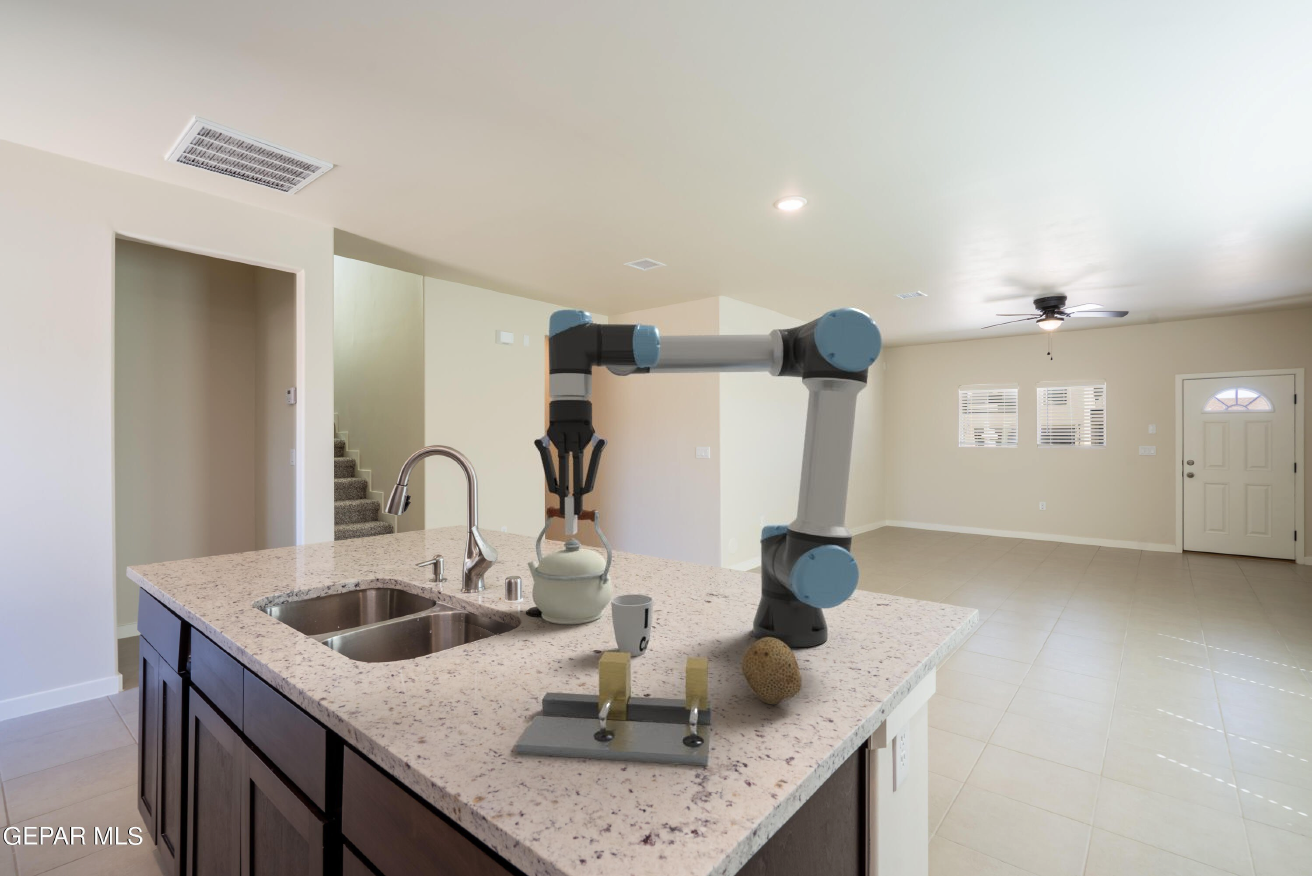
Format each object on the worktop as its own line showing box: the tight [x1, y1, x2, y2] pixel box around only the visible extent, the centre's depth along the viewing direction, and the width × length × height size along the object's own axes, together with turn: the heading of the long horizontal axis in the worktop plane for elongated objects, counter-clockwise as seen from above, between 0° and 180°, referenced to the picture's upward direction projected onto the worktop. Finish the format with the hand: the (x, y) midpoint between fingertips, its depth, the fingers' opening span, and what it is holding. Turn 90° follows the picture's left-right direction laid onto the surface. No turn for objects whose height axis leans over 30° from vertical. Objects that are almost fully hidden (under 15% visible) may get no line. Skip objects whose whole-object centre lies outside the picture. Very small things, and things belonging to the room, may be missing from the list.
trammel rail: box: [541, 656, 712, 740], centre depth 86 cm, size 25×11×8 cm, turn 83°
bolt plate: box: [515, 715, 711, 767], centre depth 81 cm, size 25×8×1 cm, turn 83°
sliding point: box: [598, 651, 632, 734], centre depth 86 cm, size 4×11×8 cm, turn 173°
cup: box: [610, 593, 654, 657], centre depth 116 cm, size 8×8×10 cm
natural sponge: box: [741, 637, 802, 705], centre depth 94 cm, size 9×9×10 cm
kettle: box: [527, 505, 613, 625], centre depth 140 cm, size 25×18×25 cm
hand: (571, 533), depth 106 cm, fingers closed
